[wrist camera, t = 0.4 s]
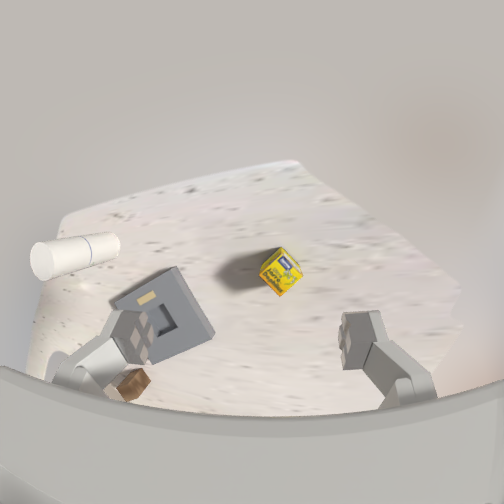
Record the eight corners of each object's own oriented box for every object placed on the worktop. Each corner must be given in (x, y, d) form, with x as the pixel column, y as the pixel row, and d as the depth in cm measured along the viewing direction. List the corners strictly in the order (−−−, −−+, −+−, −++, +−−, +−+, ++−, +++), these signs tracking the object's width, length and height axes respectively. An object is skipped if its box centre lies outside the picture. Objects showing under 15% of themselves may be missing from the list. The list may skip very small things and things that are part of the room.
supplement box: (261, 264, 65) (257, 275, 55) (281, 245, 65) (281, 252, 54) (280, 284, 66) (280, 297, 55) (300, 265, 65) (303, 275, 54)
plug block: (151, 381, 72) (137, 398, 64) (139, 385, 73) (126, 401, 64) (141, 367, 72) (127, 383, 63) (130, 372, 73) (116, 388, 64)
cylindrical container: (124, 240, 68) (58, 254, 43) (114, 265, 69) (49, 288, 44) (103, 226, 68) (35, 235, 43) (94, 251, 69) (26, 268, 44)
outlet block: (215, 332, 69) (211, 339, 64) (158, 358, 71) (152, 365, 67) (176, 266, 67) (170, 269, 63) (121, 298, 70) (113, 303, 66)
